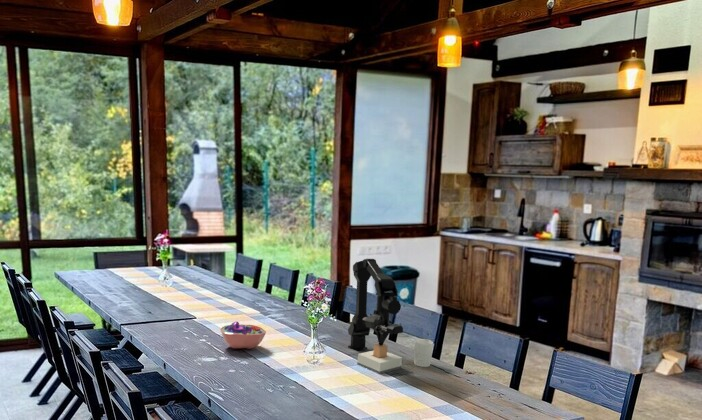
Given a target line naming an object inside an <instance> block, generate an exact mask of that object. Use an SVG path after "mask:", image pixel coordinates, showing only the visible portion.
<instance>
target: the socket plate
mask: <svg viewBox="0 0 702 420" xmlns="http://www.w3.org/2000/svg"><path fill="white" fill-rule="evenodd" d="M373 352H374V349H373V350H369V351H366V352H361V353H360V352H359V353H358V354H357V366H360V367H362V368H364V369H366V368H367V369H366V370H369V371H371V372H374V373H376V374H378V375H381V374H385V373H388V372H393V371H396V370H399V369H402V366H403V365H402V364H403V357H402V356H399V355H396V354H393V353H391V352H388V351H387V357H384V358H380V359H379V358H376V357H374V356H373Z"/></svg>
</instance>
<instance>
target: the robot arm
mask: <svg viewBox="0 0 702 420" xmlns="http://www.w3.org/2000/svg"><path fill="white" fill-rule="evenodd" d="M352 271H353V276H354V278H355V280H356V296H355V298H356V299H355V300H356V301H355V303H356V305H355V313H354V315H353V316H352V319H351V323H350V325H349V326H348V328H347V333H348V335H349V336H350V344H349V345H348V346H347V347H348V348H350V349H353V350H354V351H361V350H365V349H366V350H367V349H368V347H367V346H366V342H367V341H366V336H370V332H371V330H373V331H374V332H375V336H376V338H377V342H378V344H379V345H383V344H385V341H386V339H387V338H388V336H389V335H390V334H391V335H398V334H402V333H404V327H403V326H402V325H401V324H398V323H392V320H391V318H390V317H391V316H390V315H396V314H398V313H399V312H400V311H401V307H402V304H401V303H400V301H399V300H398V292H399V291H398V289H397V286H396V283H395V281H394V279H393V277H391V276H390V275H387V274H385V273H384V271H383V270H382V269H381V267H380V266H379V264H378V262H377V260H376V259H375V258H364V259H362V260H360V261H356V262H355V263H354V264H353V265H352ZM371 277H372V279H373V281H374V287H375V290H376V293H375V295H376V296H377V298H376V309H374V311H373V314H371V315H369V316H368V314H367V310H368V309H367V307H368V302H367V301H368V282H369V280H370V278H371Z"/></svg>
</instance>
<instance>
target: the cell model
mask: <svg viewBox="0 0 702 420" xmlns="http://www.w3.org/2000/svg"><path fill="white" fill-rule="evenodd" d="M219 331H220V332H221V335H222V339H223V341H224V342H225V343H226V344H227V345H228V346H229V347H230V348H232V349H235V350H236V349H247V350H249V349H254V348H256V347H257V346H258V345H260V344H261V343H262V341H263V340H264V338H265V336H266V333H267V331H266V330H265V329H264V328H263V327H261V326H258V325H254V324H240V323H239V321H234V322H232V323H231V324H226V325H224V326H221V328H220V330H219Z"/></svg>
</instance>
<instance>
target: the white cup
mask: <svg viewBox="0 0 702 420" xmlns="http://www.w3.org/2000/svg"><path fill="white" fill-rule="evenodd" d="M413 347H414V349H413V350H414V352H413V353H414V354H413V357H414V358H413V360H414V361H413V363H414V365H415V366H416V367H421V368H428V367H430V366H431V361H432V360H431V359H432V355H433V349H434V348H433V347H434V342H433V340H430V339H426V338H417V339H415V340H414V346H413Z"/></svg>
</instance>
